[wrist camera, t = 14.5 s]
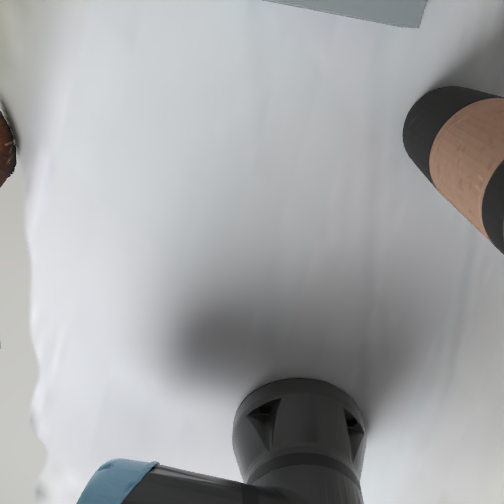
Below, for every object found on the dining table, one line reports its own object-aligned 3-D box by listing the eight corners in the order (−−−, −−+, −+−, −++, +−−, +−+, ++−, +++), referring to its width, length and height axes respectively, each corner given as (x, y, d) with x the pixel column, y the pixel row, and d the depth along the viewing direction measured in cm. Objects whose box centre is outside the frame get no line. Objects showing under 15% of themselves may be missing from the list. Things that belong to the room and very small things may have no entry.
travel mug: (471, 63, 39) (648, 102, 21) (503, 145, 42) (683, 241, 24) (384, 113, 41) (476, 188, 23) (419, 188, 43) (527, 308, 25)
